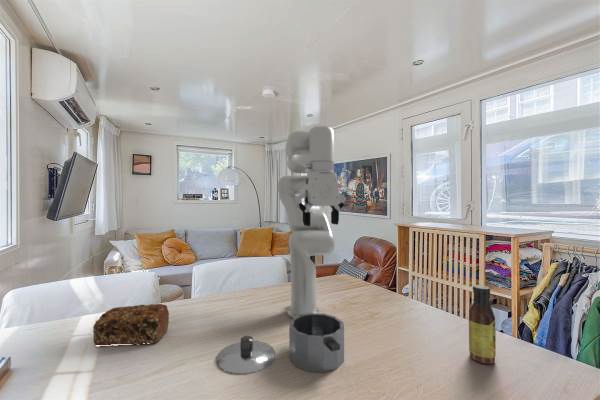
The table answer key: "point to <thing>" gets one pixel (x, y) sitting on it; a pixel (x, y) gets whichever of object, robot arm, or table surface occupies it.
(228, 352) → the lid
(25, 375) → the table surface
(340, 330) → the pot
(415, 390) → the table surface
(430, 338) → the table surface
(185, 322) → the table surface
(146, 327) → the bread
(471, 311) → the sauce bottle
